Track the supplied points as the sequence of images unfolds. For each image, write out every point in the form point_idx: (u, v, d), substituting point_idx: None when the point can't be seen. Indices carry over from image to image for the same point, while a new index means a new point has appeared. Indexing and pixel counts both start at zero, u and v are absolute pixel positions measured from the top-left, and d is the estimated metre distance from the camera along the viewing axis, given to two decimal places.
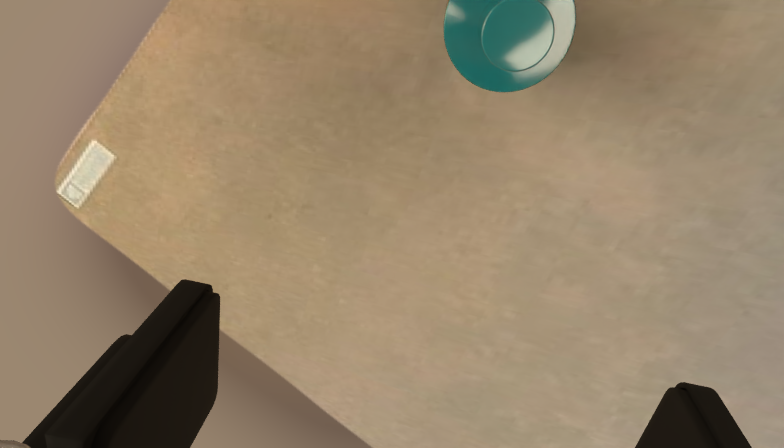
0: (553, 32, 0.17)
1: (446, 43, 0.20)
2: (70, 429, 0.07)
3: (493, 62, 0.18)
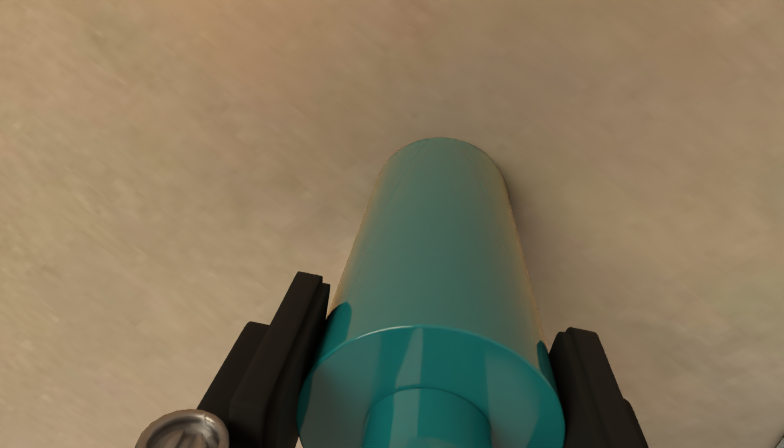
0: None
1: (302, 392, 0.09)
2: (249, 399, 0.08)
3: None
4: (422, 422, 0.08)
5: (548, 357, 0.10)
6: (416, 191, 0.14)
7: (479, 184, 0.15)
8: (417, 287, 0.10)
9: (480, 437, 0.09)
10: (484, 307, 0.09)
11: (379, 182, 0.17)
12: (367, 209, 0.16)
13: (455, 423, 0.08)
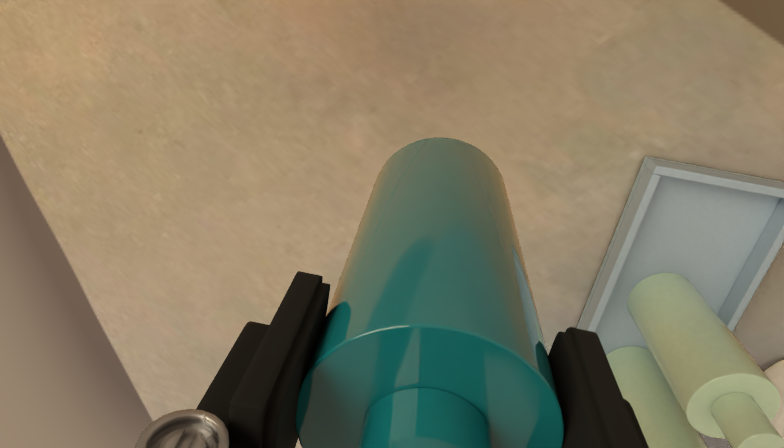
0: None
1: (301, 392, 0.10)
2: (248, 399, 0.08)
3: None
4: (421, 422, 0.08)
5: (547, 357, 0.10)
6: (415, 190, 0.14)
7: (478, 184, 0.15)
8: (416, 287, 0.10)
9: (479, 437, 0.09)
10: (483, 307, 0.09)
11: (378, 182, 0.17)
12: (366, 209, 0.16)
13: (454, 423, 0.08)
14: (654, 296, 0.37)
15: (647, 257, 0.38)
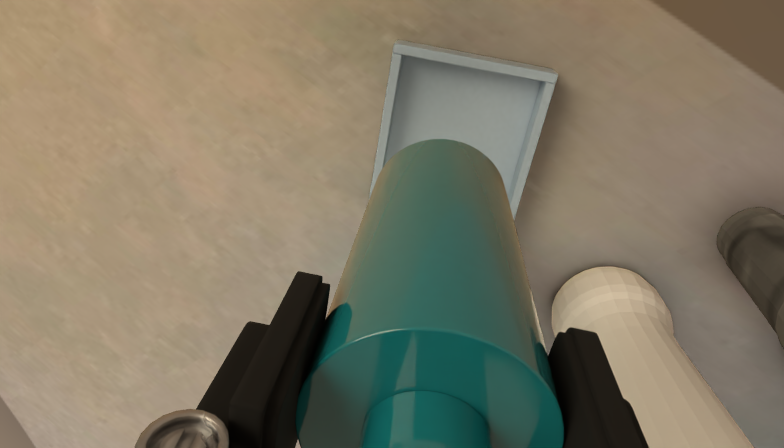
0: None
1: (301, 395, 0.09)
2: (248, 399, 0.08)
3: None
4: (421, 425, 0.08)
5: (547, 359, 0.10)
6: (416, 192, 0.14)
7: (478, 186, 0.15)
8: (416, 289, 0.10)
9: (479, 440, 0.09)
10: (484, 310, 0.09)
11: (378, 183, 0.17)
12: (366, 210, 0.16)
13: (454, 426, 0.08)
14: None
15: None
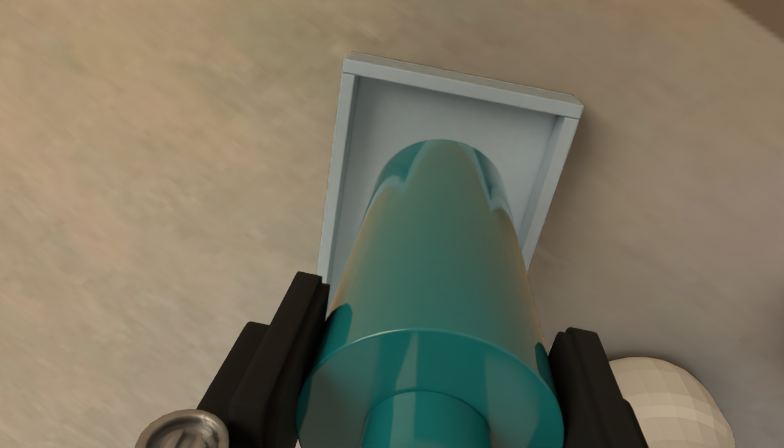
0: None
1: (301, 395, 0.09)
2: (248, 399, 0.08)
3: None
4: (421, 425, 0.08)
5: (547, 360, 0.10)
6: (416, 193, 0.14)
7: (478, 186, 0.15)
8: (416, 290, 0.10)
9: (479, 440, 0.09)
10: (484, 310, 0.09)
11: (379, 184, 0.17)
12: (366, 211, 0.16)
13: (455, 426, 0.08)
14: None
15: None
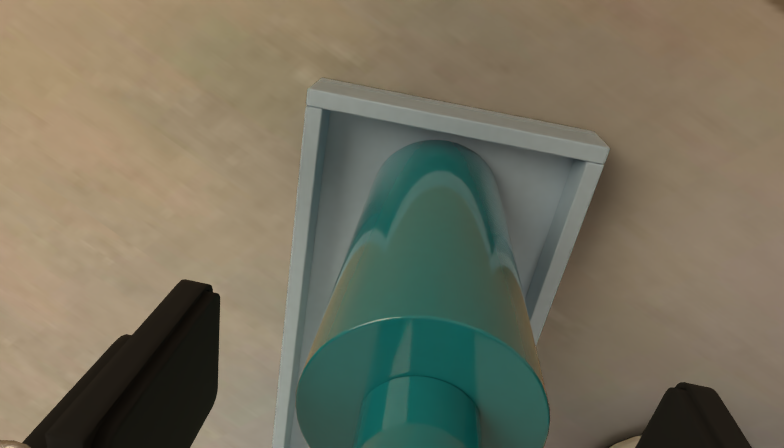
0: None
1: (301, 381, 0.10)
2: (70, 429, 0.07)
3: None
4: (414, 407, 0.09)
5: (534, 347, 0.11)
6: (411, 190, 0.15)
7: (471, 185, 0.16)
8: (410, 281, 0.10)
9: (469, 421, 0.09)
10: (474, 299, 0.10)
11: (375, 183, 0.18)
12: (364, 209, 0.16)
13: (446, 407, 0.09)
14: None
15: None
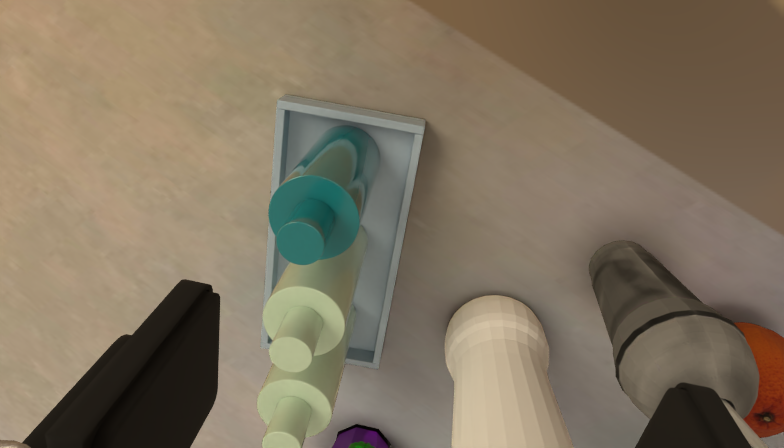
0: (321, 254, 0.25)
1: (270, 204, 0.28)
2: (70, 429, 0.07)
3: (278, 249, 0.25)
4: (307, 204, 0.27)
5: (357, 194, 0.28)
6: (322, 144, 0.32)
7: (353, 143, 0.33)
8: (309, 168, 0.28)
9: (326, 211, 0.27)
10: (331, 173, 0.28)
11: None
12: None
13: (318, 205, 0.27)
14: None
15: None
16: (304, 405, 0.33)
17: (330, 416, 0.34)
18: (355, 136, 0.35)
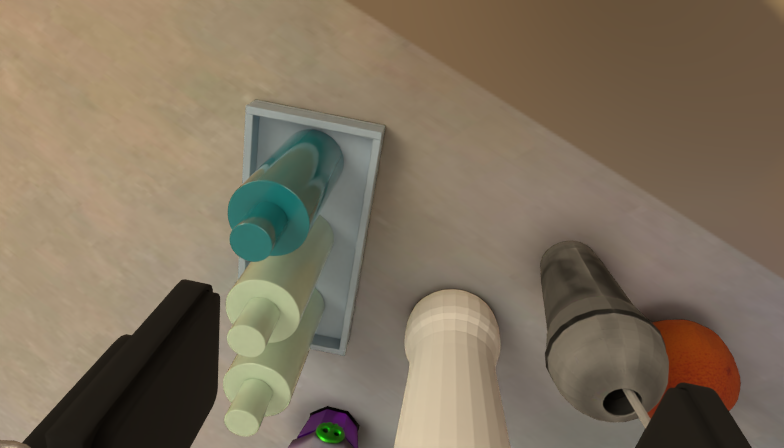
0: (269, 253, 0.28)
1: (229, 205, 0.31)
2: (70, 429, 0.07)
3: (232, 247, 0.28)
4: (260, 207, 0.30)
5: (309, 197, 0.31)
6: (284, 149, 0.35)
7: (313, 147, 0.36)
8: (265, 173, 0.31)
9: (278, 213, 0.30)
10: (284, 178, 0.31)
11: None
12: None
13: (270, 207, 0.30)
14: None
15: None
16: (265, 386, 0.36)
17: (289, 397, 0.37)
18: (317, 140, 0.38)
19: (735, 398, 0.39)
